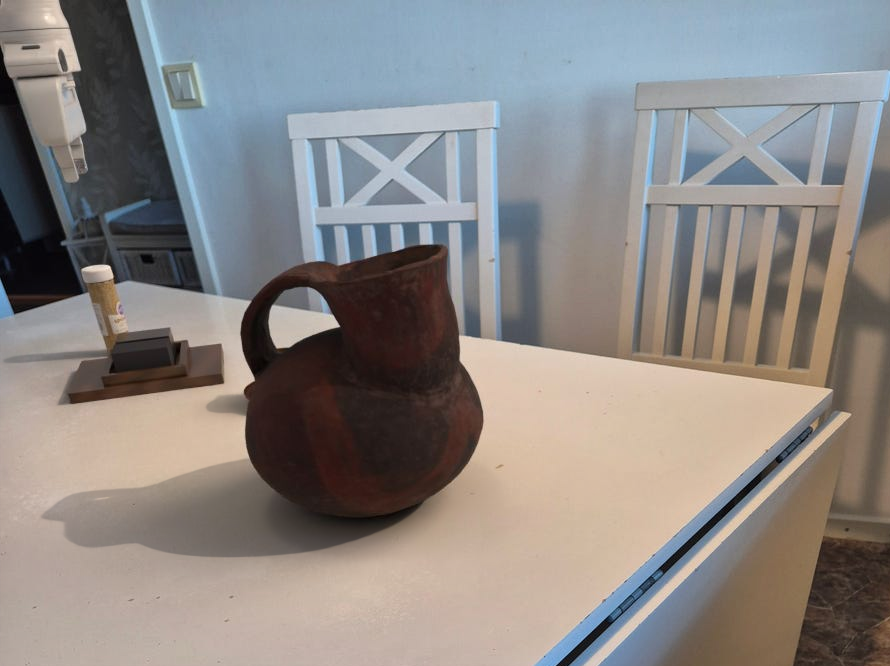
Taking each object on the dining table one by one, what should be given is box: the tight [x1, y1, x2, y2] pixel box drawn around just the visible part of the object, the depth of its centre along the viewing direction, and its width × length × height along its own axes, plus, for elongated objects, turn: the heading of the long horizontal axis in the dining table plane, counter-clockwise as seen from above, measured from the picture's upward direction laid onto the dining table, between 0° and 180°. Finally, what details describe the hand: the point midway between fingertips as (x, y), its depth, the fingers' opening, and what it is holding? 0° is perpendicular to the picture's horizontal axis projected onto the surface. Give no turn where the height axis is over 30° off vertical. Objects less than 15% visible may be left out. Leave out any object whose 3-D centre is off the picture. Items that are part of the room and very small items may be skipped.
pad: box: [111, 338, 175, 373], centre depth 126 cm, size 8×5×4 cm, turn 104°
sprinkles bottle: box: [80, 264, 130, 355], centre depth 138 cm, size 5×5×14 cm
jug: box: [239, 243, 485, 518], centre depth 86 cm, size 25×25×25 cm
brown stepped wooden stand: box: [67, 326, 225, 405], centre depth 129 cm, size 22×16×6 cm
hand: (77, 177), depth 118 cm, fingers open, 8 cm apart
